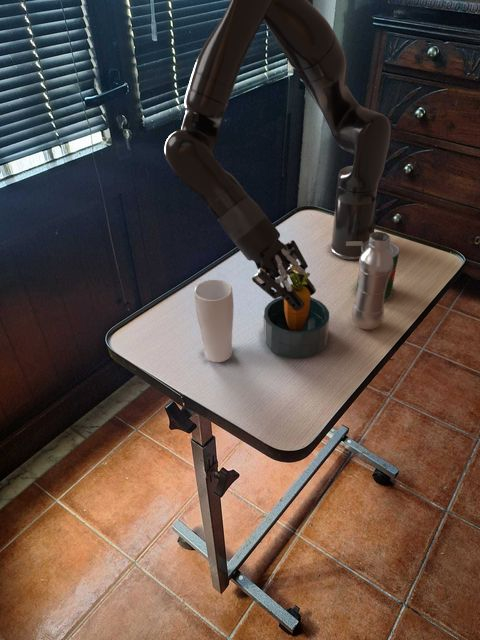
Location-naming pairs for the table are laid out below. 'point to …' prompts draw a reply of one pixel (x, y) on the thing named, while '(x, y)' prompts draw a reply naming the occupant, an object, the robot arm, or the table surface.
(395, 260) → the canned tomato
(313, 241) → the table surface
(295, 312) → the carrot
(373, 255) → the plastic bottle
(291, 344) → the pot
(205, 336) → the drinking glass
